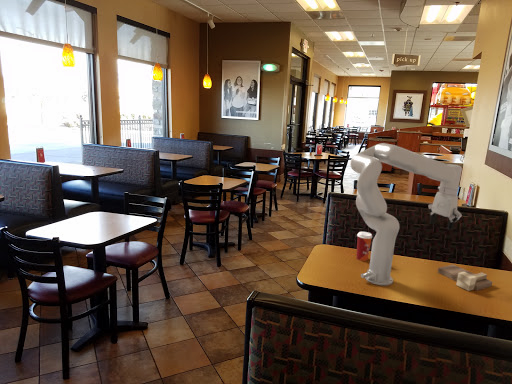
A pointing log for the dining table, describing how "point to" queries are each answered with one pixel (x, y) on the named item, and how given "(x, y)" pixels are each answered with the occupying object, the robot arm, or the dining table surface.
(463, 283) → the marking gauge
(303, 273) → the dining table surface
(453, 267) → the walnut board
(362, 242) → the paper cup
